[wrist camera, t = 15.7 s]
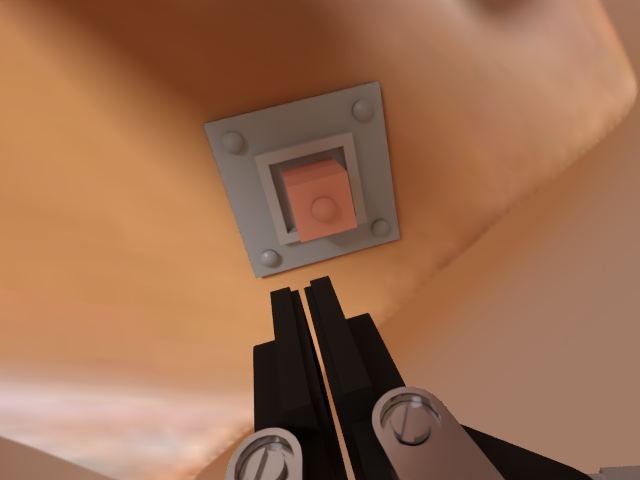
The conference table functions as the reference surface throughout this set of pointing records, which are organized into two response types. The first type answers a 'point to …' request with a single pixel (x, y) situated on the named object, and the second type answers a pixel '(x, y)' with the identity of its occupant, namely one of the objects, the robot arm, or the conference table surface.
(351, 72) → the conference table surface
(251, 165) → the baseplate
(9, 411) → the conference table surface
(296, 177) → the pink knobbed block
